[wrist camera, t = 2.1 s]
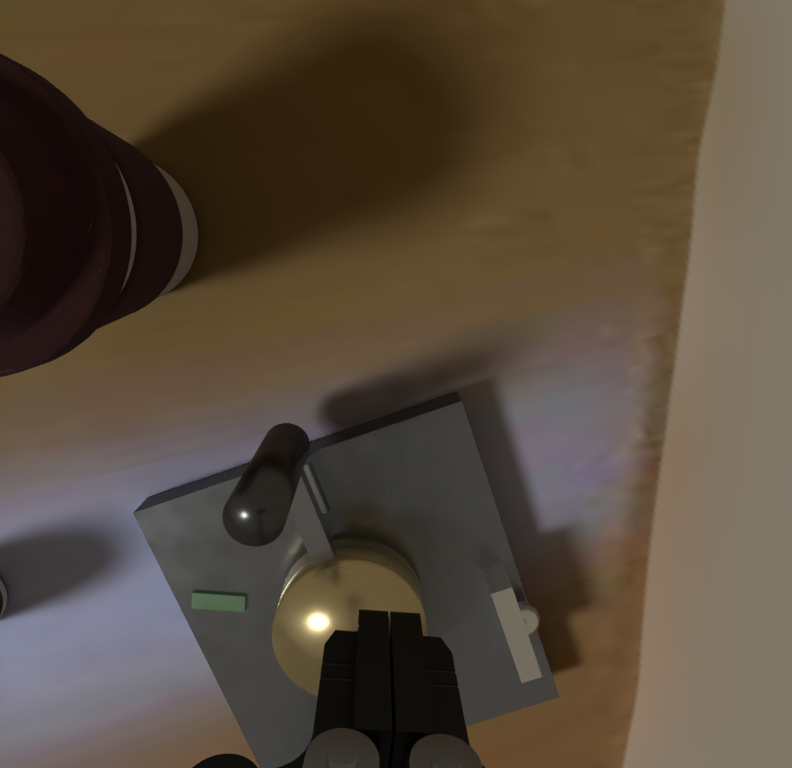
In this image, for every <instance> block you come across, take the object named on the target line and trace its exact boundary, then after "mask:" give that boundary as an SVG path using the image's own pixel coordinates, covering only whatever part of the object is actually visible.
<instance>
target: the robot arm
mask: <svg viewBox="0 0 792 768" xmlns="http://www.w3.org/2000/svg"><path fill="white" fill-rule="evenodd" d="M193 768H257V766H256V765H255V764H254V763H253V762H252V761H250V760H249V759H248V758H245V757H243V756H240V755H237V754H220V755H215V756H212V757H209V758H207V759H205V760H203V761H201V762H200V763H198V764H197V765H195V766H194V767H193ZM277 768H485V767H484V766H483V765H482V764H481V761H480V758H479V757H478V755H477V753H476V752H475V751H474V750H473V748H472V747H471V746H470V744H469V740H468V735H467V730H466V724H465V719H464V714H463V708H462V703H461V698H460V692H459V688H458V682H457V676H456V674H455V666H454V660H453V655H452V652H451V651H450V649H449V648H448V647H447V645H446V644H445V642H444V641H443V640H442V638H441V637H432V636H423V632H422V624H421V616H420V613H407V612H393V611H390V614H388V611H378V610H364V609H359V611H358V620H357V629H356V631H343V630H335V631H334V632H333V634H332V635H331V636H330V638H329V639H328V640H327V642H326V643H325V644H324V652H323V660H322V667H321V675H320V683H319V690H318V698H317V706H316V713H315V721H314V729H313V735H312V739H311V741H310V743H309V745H308V747H307V748H306V749H305V751H304V752H303V753H302V754H301V755H300V756H299V757H297V758H296V759H295V760H293V761H292V762H290V763H288V764H286V765H284V766H281V767H277Z"/></svg>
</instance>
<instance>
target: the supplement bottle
mask: <svg viewBox="0 0 792 768" xmlns="http://www.w3.org/2000/svg"><path fill="white" fill-rule="evenodd" d="M6 605H7V592H6V588H5V586H4V584H3V582H2V580H1V579H0V617H1V616H2V614H3V613H4V611H5V608H6Z"/></svg>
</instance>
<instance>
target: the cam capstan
mask: <svg viewBox="0 0 792 768" xmlns="http://www.w3.org/2000/svg"><path fill="white" fill-rule="evenodd" d="M309 449H310V442H309V438H308V436H307V434H306V433H305V431H304V430H303V429H301V428H300V427H299V426H297V425H294V424H290V423H282V424H278V425H276V426H274V427H273V428H271V429H270V430H269V431H268V433H267V434H266V436H265V438H264V439H263V441H262V443H261V445H260V446H259V448H258V450H257V451H256V453H255V455H254V457H253V458H252V460H251V462H250V463H249V465H248V467H247V468H246V470H245V472H244V474H243V475H242V477H241V479H240V480H239V482H238V484H237V486H236V487H235V489H234V491H233V492H232V494H231V496H230V497H229V499H228V501H227V503H226V504H225V506H224V509H223V514H222V519H223V524H224V527H225V529H226V531H227V532H228V534H229V535H230V536H231V537H232V538H233V539H234V540H236V541H237V542H239V543H241V544H244V545H247V546H254V547H255V546H263V545H267V544H269V543H271V542H273V541H274V540H275V539H277V538H278V537H279V535H280V534H281V533H282V531H283V529H284V526H285V523H286V520H287V517H288V514H289V511H290V512H291V514H292V516H293V519H294V521H295V523H296V526H297V528H298V531H299V533H300V535H301V538H302V540H303V542H304V545H305V547H306V549H307V553H306V554H304V555H303V556H302V557H301V558H300V559H299V560H298V561H297V562H296V563H295V564H294V566H293V567H292V568H291V570H290V572H289V573H288V575H287V577H286V580H285V582H284V585H283V589H282V592H281V596H280V600H279V603H278V607H277V611H276V614H275V618H274V622H273V626H272V645H273V649H274V653H275V656H276V659H277V661H278V663H279V665H280V667H281V668H282V670H283V671H284V672H285V674H286V675H287V676H288V677H289V678H290V679H291V680H292V681H293V682H294V683H295V684H296V685H297V686H299V687H300V688H301V689H303V690H305V691H306V692H308V693H310V694H312V695H314V696H317V697H318V690H319V683H320V675H321V667H322V660H323V652H324V644H325V643H326V642H327V640H328V639H329V638H330V636H331V635H332V634H333V632H334V631H335V630H343V631H356V629H357V620H358V611H359V609H364V610H378V611H388V614H390V611H393V612H407V613H420V616H421V624H422V632H423V636H427V627H426V620H425V613H424V605H423V598H422V591H421V586H420V583H419V580H418V577H417V575H416V573H415V571H414V570H413V568H412V567H411V565H410V564H409V563H408V562H407V561H406V560H405V559H404V558H403V557H402V556H401V555H400V554H399V553H397V552H396V551H394V550H393V549H391V548H390V547H388V546H386V545H383V544H381V543H378V542H375V541H372V540H367V539H360V538H344V539H337V540H333V539H332V536H331V534H330V532H329V529H328V527H327V524H326V522H325V519H324V517H323V514H322V512H321V510H320V507H319V505H318V502H317V500H316V497H315V495H314V493H313V490H312V488H311V485H310V483H309V480H308V478H307V476H306V473H305V471H304V465H305V462H306V459H307V456H308V453H309Z"/></svg>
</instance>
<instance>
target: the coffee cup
mask: <svg viewBox="0 0 792 768" xmlns="http://www.w3.org/2000/svg"><path fill="white" fill-rule="evenodd" d="M197 246H198V227H197V220H196V216H195V213H194V210H193V207H192V205H191V203H190V201H189V199H188V197H187V196H186V194H185V192H184V191H183V189H182V188H181V187H180V185H179V184H178V183H177V182H176V181H175V180H174V179H173V178H172V177H171V176H170V175H169V174H168V173H167V172H165V171H164V170H163V169H161V168H160V167H158V166H156V165H155V164H153V163H152V162H151V161H150V160H149V159H148V158H147V157H146V156H145V155H144V154H143V153H141V152H140V151H139V150H137V149H136V148H135V147H133V146H132V145H130V144H129V143H127V142H126V141H124V140H122V139H121V138H119V137H117V136H116V135H114V134H113V133H111V132H109V131H108V130H106V129H105V128H103V127H101V126H100V125H98V124H96V123H95V122H93V121H92V120H90V119H88V118H87V117H86V116H85V115H84V113H83V112H82V111H81V110H80V109H79V108H78V107H77V106H76V105H75V104H74V103H73V102H72V101H71V100H70V99H69V98H68V97H67V96H66V95H65V94H64V93H62V92H61V91H60V90H59V89H57V88H56V87H55V86H54V85H52V84H51V83H50V82H49V81H47V80H46V79H45V78H43V77H42V76H40V75H38V74H37V73H35V72H34V71H32V70H31V69H29V68H27V67H25V66H23V65H21V64H19V63H17V62H15V61H14V60H12V59H10V58H8V57H6V56H4V55H2V54H0V377H2V376H7V375H11V374H15V373H18V372H22V371H24V370H27V369H30V368H33V367H36V366H39V365H42V364H45V363H47V362H50V361H52V360H55V359H57V358H58V357H60V356H62V355H64V354H66V353H68V352H70V351H71V350H72V349H74V348H75V347H77V346H78V345H79V344H81V343H82V342H84V341H85V340H86V339H87V338H88V337H89V336H90V335H91V334H92V333H93V332H94V331H95V330H96V329H98V328H100V327H102V326H105V325H107V324H109V323H111V322H114V321H116V320H118V319H120V318H122V317H125V316H127V315H129V314H131V313H134V312H136V311H138V310H140V309H141V308H143V307H145V306H146V305H148V304H149V303H151V302H152V301H153V300H154V299H156V298H157V297H159V296H161V295H164V294H165V293H167V292H169V291H170V290H172V289H173V288H174V287H176V286H177V285H178V284H179V283H180V282H181V281H182V279H183V278H184V277H185V276H186V274H187V273H188V271H189V269H190V268H191V266H192V263H193V261H194V258H195V255H196V251H197Z"/></svg>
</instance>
